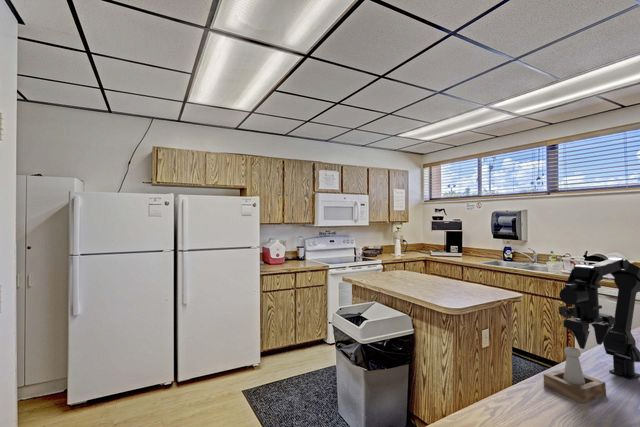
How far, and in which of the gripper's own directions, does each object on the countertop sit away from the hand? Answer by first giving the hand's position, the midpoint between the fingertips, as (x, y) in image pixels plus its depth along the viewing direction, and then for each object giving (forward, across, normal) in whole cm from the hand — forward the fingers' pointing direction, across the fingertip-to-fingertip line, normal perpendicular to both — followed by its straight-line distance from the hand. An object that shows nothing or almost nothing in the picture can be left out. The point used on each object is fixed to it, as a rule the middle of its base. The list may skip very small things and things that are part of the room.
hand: (590, 346), depth 113 cm
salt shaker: (+12, +10, 0) cm, 16 cm away
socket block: (+13, +10, 0) cm, 16 cm away
